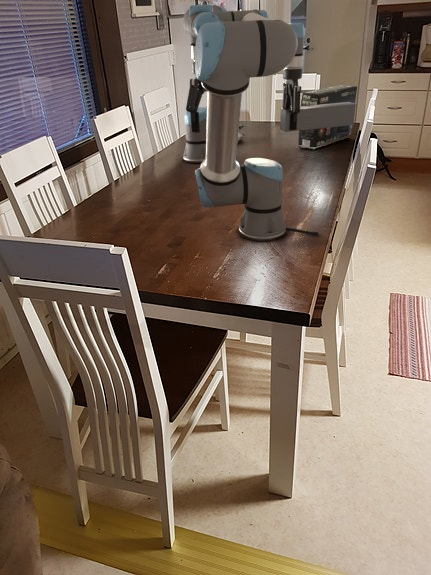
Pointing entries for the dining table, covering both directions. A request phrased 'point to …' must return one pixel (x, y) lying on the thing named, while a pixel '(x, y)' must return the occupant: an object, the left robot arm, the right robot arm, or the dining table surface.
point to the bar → (319, 116)
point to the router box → (326, 97)
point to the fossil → (240, 134)
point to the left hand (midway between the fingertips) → (290, 128)
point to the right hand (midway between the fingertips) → (206, 128)
